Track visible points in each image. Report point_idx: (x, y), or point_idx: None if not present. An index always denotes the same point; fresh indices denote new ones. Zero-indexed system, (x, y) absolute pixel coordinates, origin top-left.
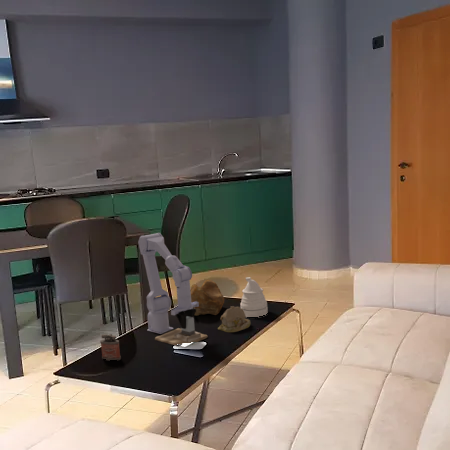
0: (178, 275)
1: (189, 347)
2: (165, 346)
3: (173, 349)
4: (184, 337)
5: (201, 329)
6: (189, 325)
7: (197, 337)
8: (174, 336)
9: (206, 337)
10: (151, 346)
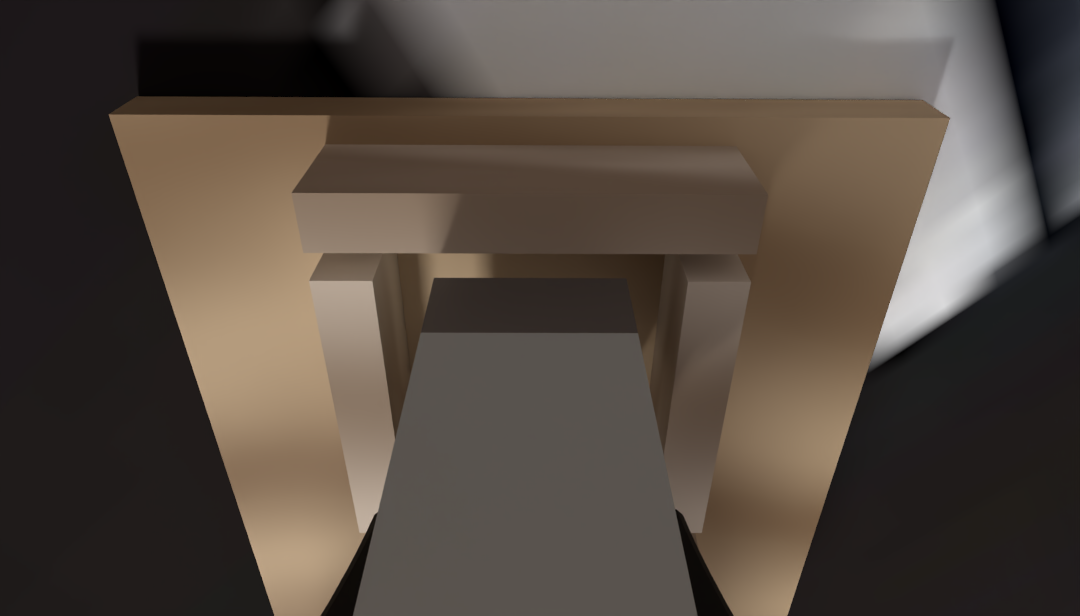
0: None
1: (864, 3)
2: (946, 432)
3: (1064, 228)
4: (736, 329)
5: (6, 476)
6: (650, 489)
7: (439, 158)
8: None
9: (171, 98)
10: (997, 569)
